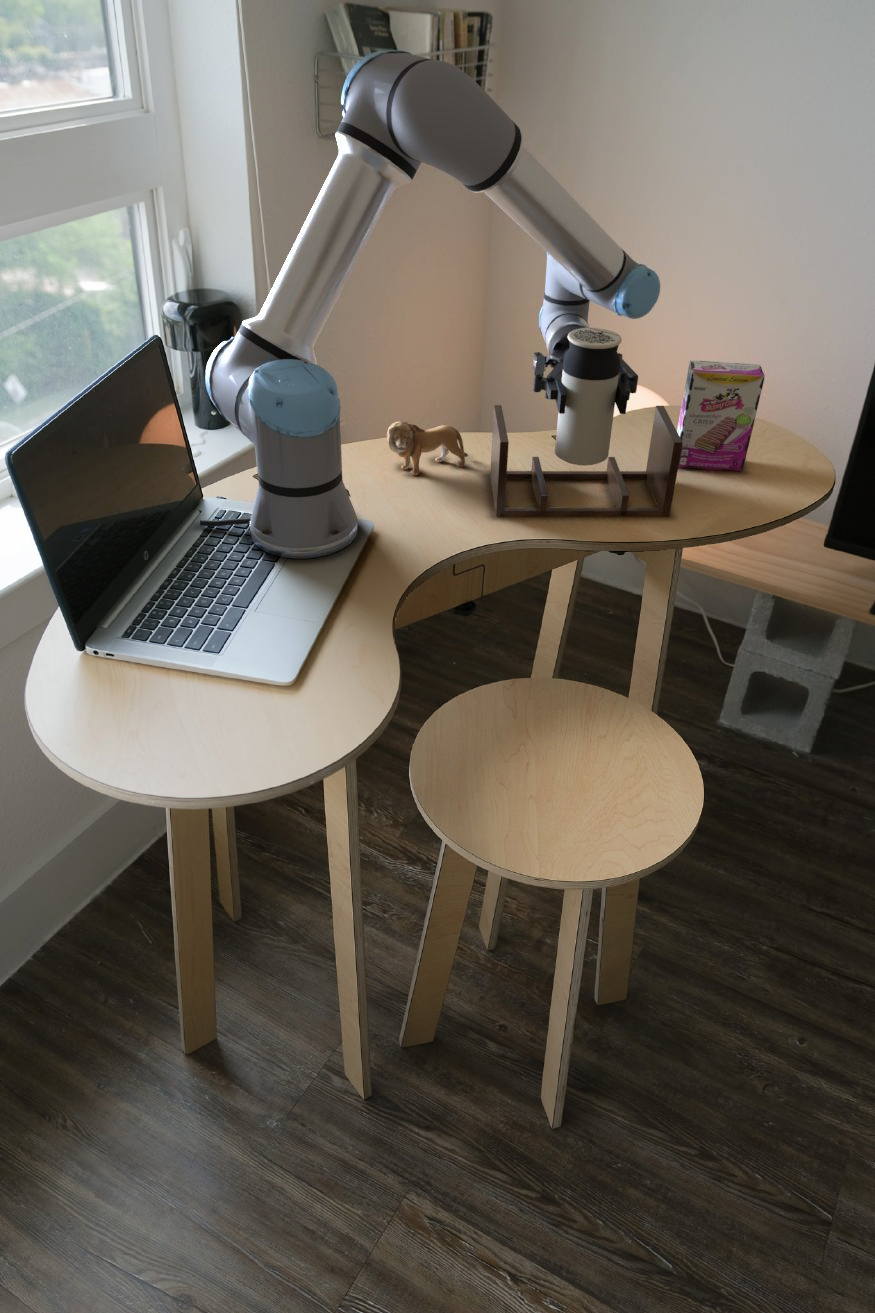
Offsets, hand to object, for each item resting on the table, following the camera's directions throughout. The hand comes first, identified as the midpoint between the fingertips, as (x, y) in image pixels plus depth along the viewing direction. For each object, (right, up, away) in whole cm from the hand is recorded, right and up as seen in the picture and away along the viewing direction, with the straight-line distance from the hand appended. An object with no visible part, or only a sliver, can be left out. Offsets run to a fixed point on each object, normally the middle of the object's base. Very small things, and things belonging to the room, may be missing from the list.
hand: (593, 404), depth 140 cm
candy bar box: (+22, -4, +24) cm, 33 cm away
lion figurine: (-24, -5, +21) cm, 32 cm away
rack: (0, -11, +14) cm, 18 cm away
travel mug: (0, -5, +10) cm, 11 cm away
